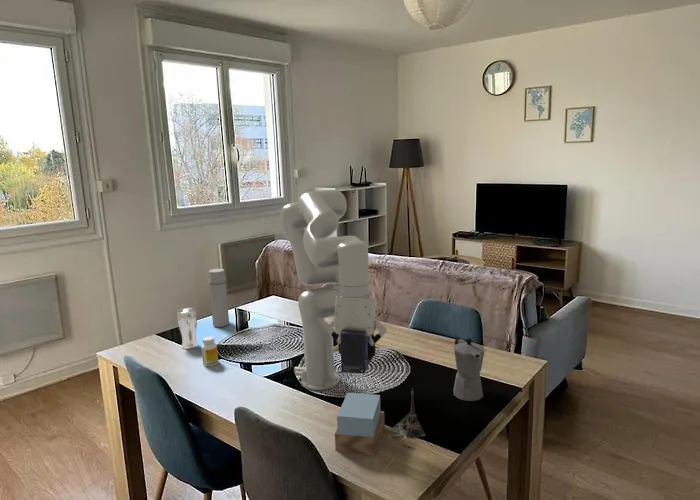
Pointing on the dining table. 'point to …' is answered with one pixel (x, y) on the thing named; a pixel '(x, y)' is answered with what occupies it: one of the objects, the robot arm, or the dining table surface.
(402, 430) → the eiffel tower figurine
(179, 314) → the beer glass
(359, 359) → the small box
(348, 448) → the walnut slab
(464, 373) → the coffeepot
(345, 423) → the slate-blue block
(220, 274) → the water bottle
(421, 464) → the dining table surface
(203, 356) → the supplement bottle
